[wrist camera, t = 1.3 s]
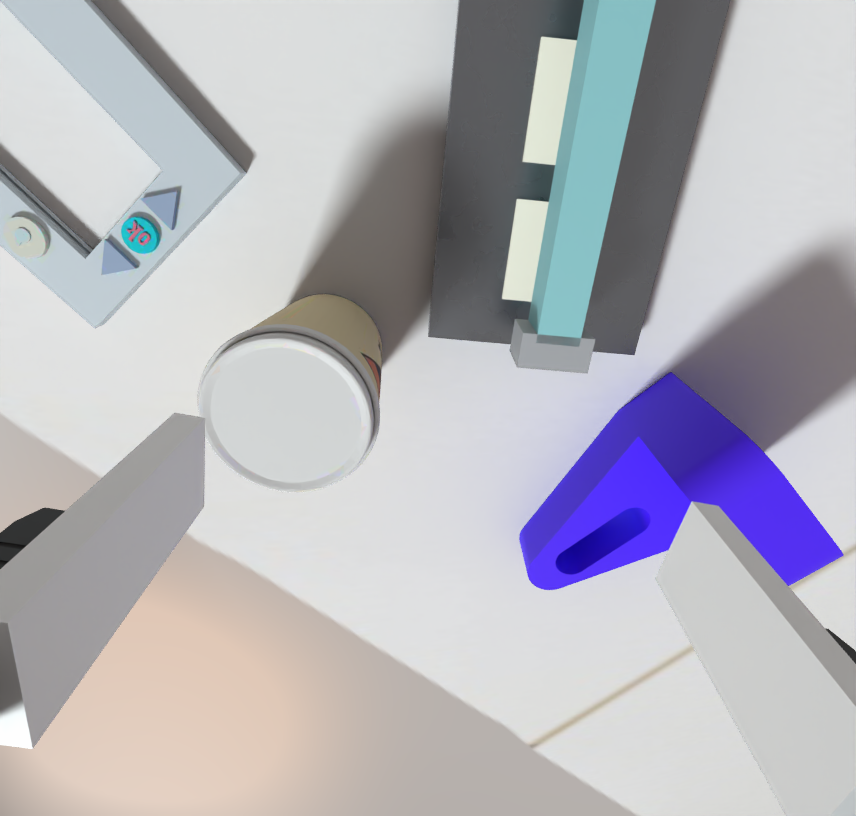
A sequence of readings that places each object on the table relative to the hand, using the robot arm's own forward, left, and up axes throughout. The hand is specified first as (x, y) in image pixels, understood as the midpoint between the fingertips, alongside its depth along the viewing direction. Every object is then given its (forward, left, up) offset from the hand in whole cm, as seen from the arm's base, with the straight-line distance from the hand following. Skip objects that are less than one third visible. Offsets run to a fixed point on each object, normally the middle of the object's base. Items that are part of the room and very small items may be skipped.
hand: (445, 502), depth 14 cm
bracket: (+14, +15, -24) cm, 32 cm away
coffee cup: (+4, -7, -24) cm, 25 cm away
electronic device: (-8, -24, -25) cm, 36 cm away
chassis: (-10, +7, -24) cm, 26 cm away
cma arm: (-10, +7, -19) cm, 22 cm away
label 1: (-4, +7, -22) cm, 23 cm away
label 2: (-12, +7, -22) cm, 26 cm away
